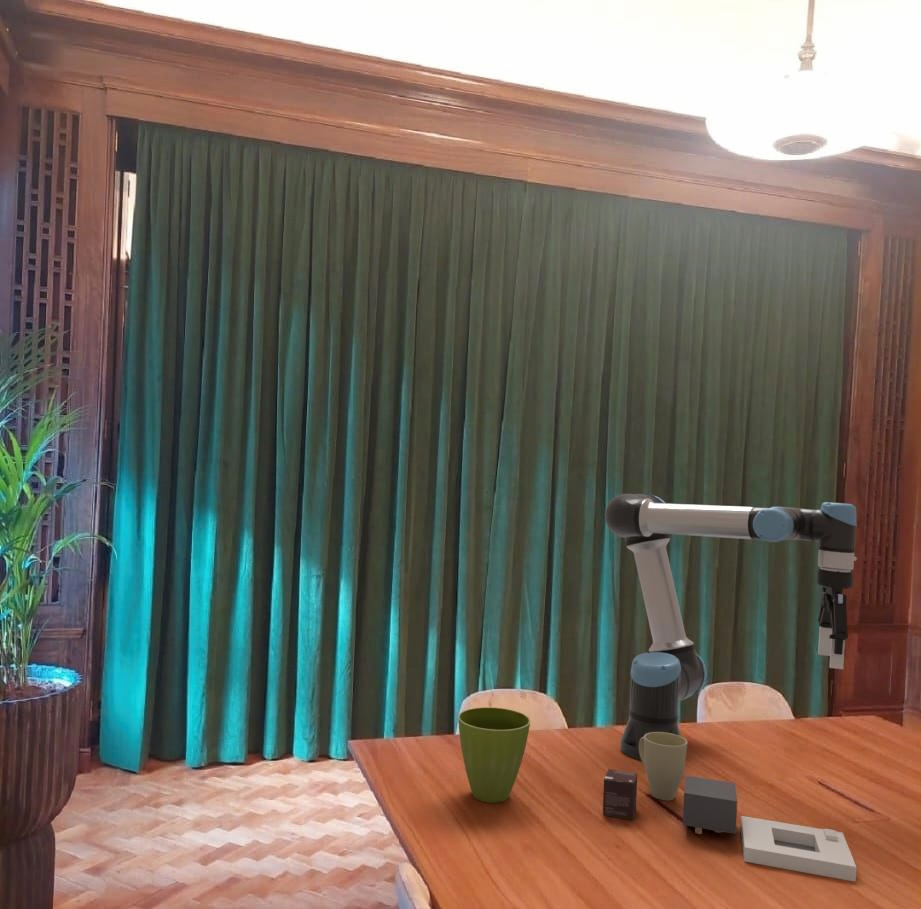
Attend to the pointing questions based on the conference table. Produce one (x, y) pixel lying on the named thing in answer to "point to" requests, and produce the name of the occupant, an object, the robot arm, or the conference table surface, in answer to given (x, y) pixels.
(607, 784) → the box
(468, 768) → the flower pot
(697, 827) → the plug
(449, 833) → the conference table surface
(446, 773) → the conference table surface
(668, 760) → the mug
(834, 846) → the socket
